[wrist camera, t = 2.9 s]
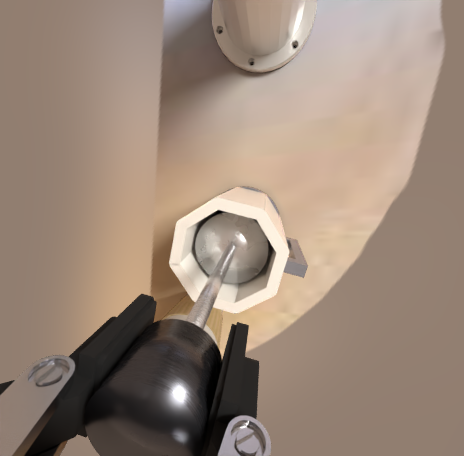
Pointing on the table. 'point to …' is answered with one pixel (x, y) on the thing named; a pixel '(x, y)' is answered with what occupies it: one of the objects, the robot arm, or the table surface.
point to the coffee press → (279, 247)
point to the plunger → (175, 359)
